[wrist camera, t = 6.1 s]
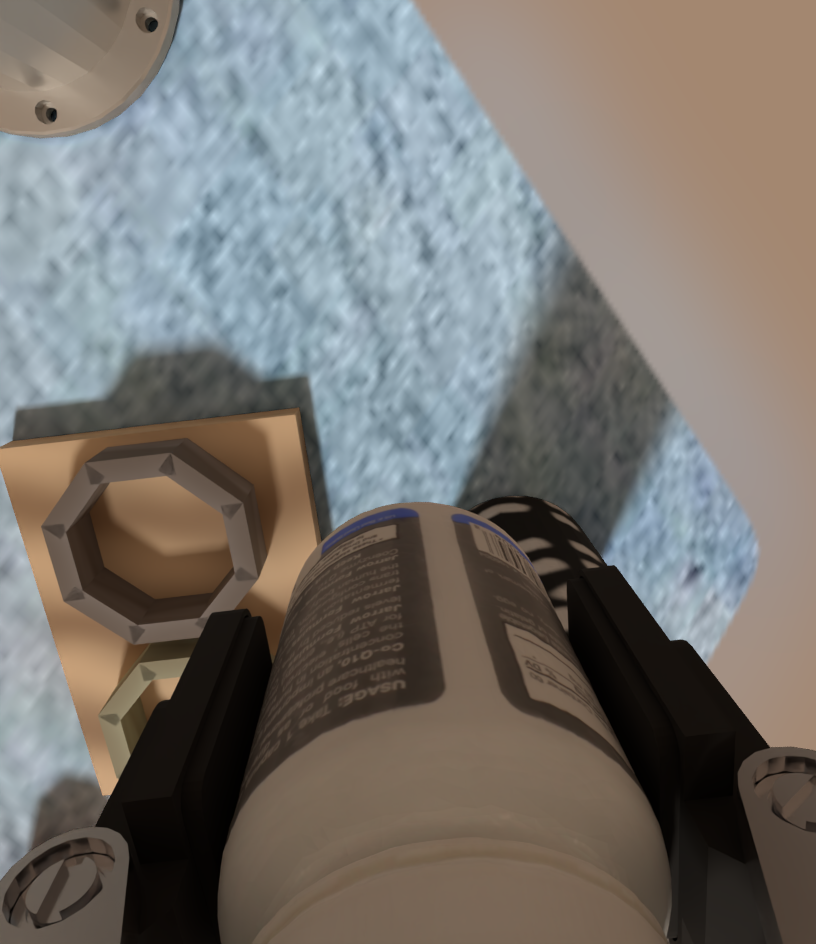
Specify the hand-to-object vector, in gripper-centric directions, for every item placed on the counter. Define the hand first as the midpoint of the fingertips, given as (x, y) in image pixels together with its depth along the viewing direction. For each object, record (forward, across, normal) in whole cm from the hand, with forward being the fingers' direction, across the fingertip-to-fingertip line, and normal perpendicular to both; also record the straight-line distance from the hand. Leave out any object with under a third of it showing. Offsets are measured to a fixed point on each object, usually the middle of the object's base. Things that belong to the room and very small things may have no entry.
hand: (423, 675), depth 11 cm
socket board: (+23, +12, +10) cm, 28 cm away
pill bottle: (+2, 0, 0) cm, 2 cm away
